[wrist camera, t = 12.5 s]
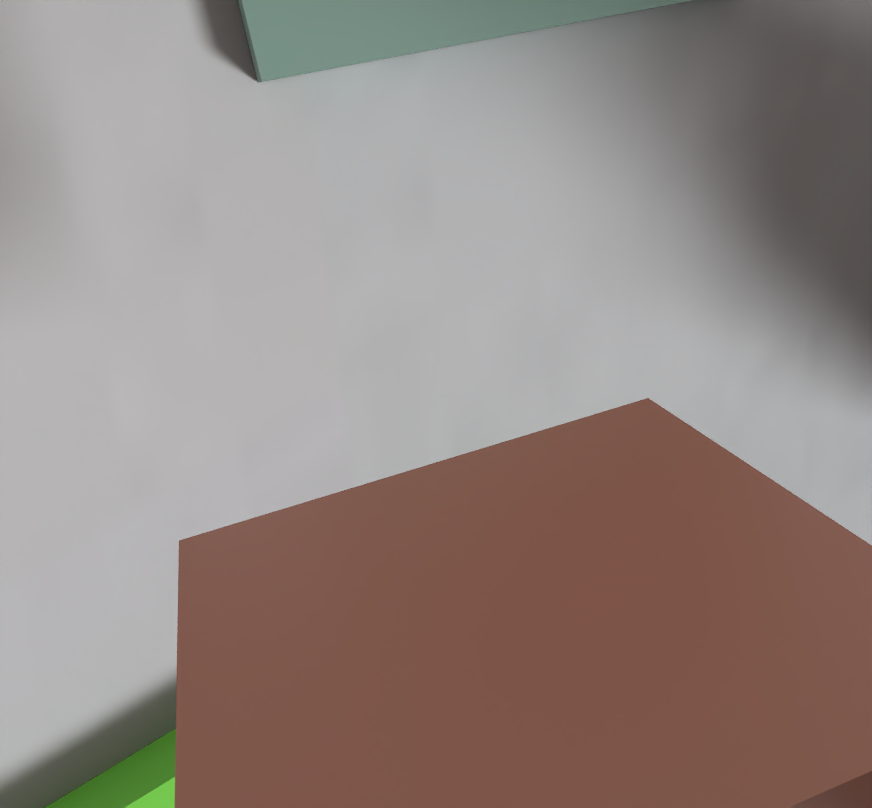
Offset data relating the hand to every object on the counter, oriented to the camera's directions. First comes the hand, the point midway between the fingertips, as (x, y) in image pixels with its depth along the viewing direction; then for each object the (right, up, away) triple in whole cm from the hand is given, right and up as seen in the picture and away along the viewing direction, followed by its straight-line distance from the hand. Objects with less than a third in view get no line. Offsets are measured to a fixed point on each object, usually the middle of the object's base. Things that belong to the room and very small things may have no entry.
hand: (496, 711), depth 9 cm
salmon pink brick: (0, 0, +1) cm, 1 cm away
